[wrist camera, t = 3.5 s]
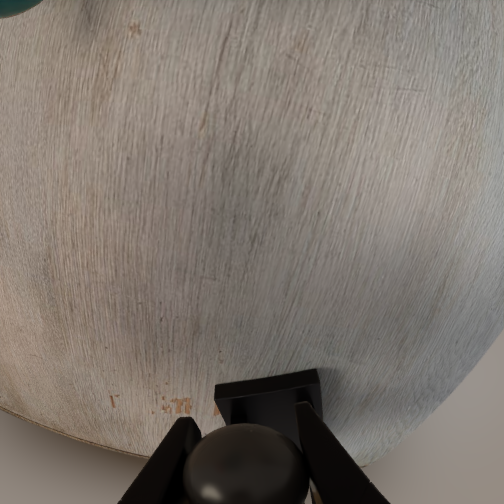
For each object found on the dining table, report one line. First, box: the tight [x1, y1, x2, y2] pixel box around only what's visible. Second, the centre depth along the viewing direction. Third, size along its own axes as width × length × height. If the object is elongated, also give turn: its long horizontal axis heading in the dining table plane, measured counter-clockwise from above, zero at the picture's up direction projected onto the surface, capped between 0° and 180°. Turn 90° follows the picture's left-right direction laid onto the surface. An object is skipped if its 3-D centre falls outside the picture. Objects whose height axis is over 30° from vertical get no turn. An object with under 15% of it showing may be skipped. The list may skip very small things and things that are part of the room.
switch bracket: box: [214, 369, 323, 504], centre depth 14 cm, size 8×6×10 cm
